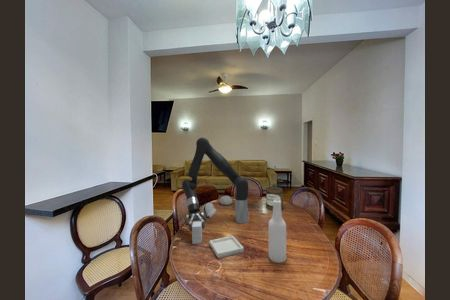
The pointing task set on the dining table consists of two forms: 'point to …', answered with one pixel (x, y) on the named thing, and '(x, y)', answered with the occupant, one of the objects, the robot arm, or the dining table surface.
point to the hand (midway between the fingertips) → (197, 229)
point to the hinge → (209, 209)
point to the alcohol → (277, 234)
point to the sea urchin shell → (225, 200)
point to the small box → (197, 232)
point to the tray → (226, 247)
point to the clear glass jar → (273, 196)
